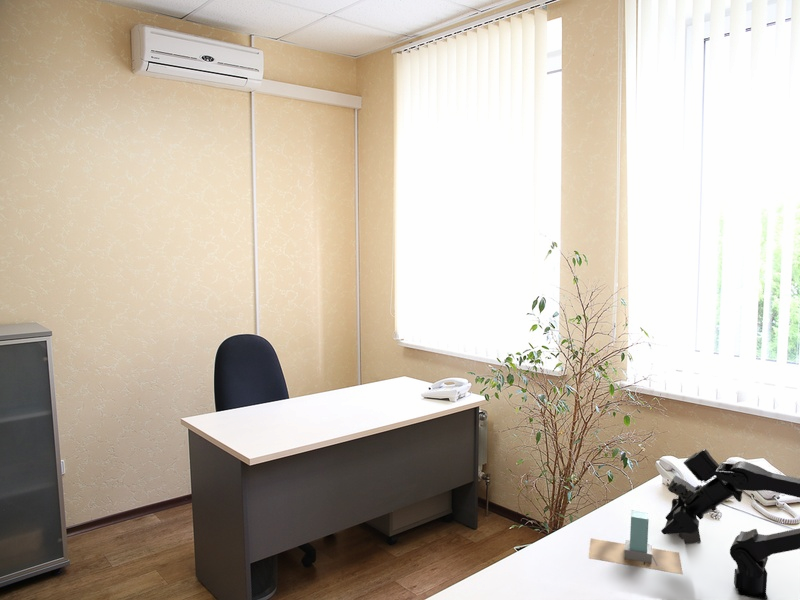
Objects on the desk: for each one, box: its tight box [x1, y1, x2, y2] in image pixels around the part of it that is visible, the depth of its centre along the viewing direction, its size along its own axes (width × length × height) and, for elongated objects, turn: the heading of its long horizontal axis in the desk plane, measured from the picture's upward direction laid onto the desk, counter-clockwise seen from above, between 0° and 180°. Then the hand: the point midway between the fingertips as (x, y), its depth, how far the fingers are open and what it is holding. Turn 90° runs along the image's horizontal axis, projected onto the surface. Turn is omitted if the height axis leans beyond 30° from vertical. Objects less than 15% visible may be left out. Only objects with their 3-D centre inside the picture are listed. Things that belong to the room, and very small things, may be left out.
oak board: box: [588, 538, 684, 575], centre depth 173 cm, size 24×12×2 cm, turn 70°
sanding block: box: [624, 509, 653, 563], centre depth 172 cm, size 7×6×12 cm
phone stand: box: [664, 498, 702, 545], centre depth 187 cm, size 9×6×12 cm, turn 13°
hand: (664, 525), depth 168 cm, fingers open, 9 cm apart
